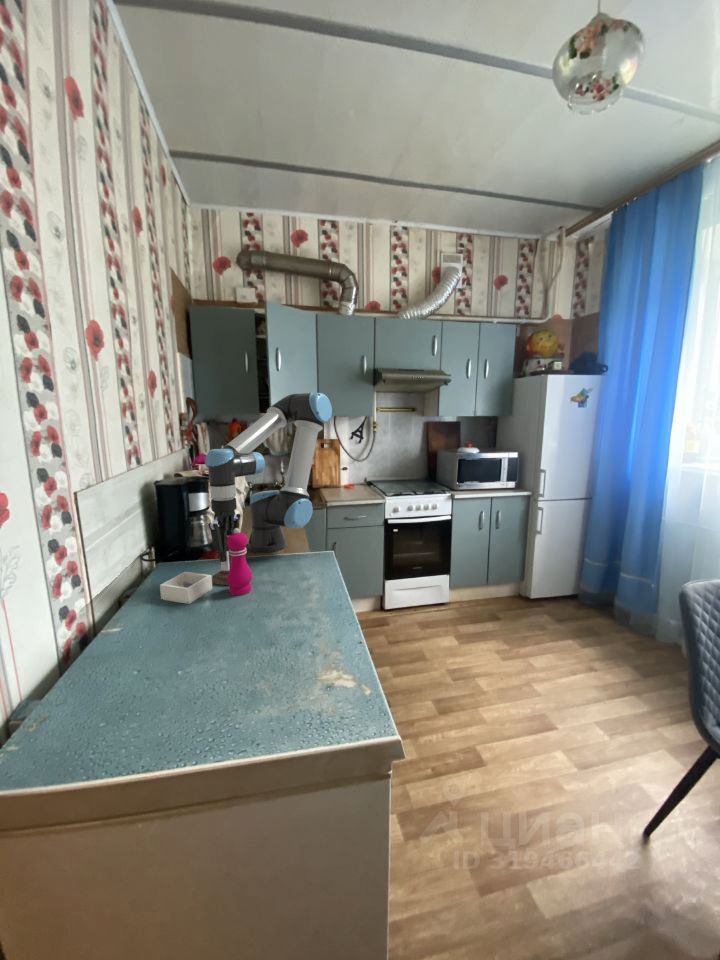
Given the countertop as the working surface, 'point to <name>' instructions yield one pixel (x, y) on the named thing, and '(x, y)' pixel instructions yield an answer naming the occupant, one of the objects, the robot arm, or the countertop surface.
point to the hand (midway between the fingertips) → (228, 568)
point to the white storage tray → (186, 587)
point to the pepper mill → (238, 564)
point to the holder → (220, 578)
